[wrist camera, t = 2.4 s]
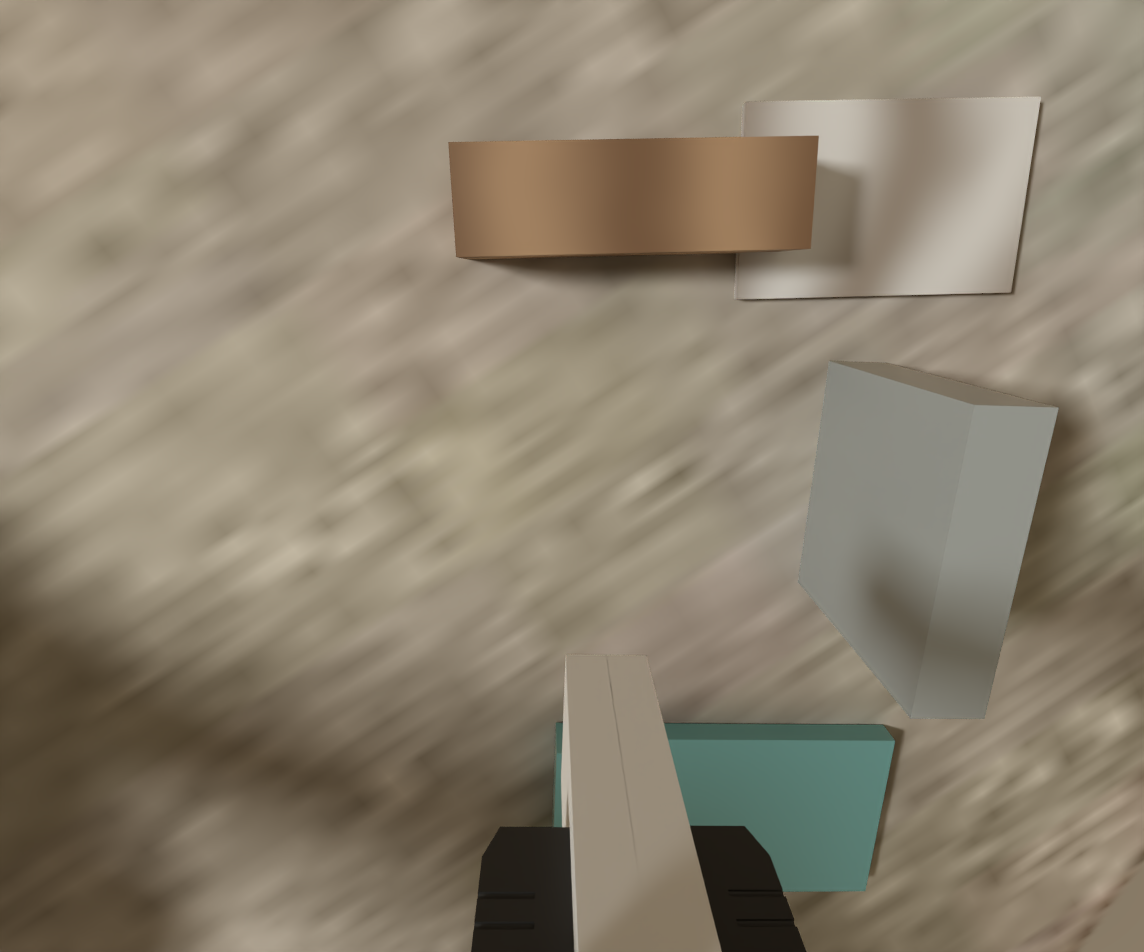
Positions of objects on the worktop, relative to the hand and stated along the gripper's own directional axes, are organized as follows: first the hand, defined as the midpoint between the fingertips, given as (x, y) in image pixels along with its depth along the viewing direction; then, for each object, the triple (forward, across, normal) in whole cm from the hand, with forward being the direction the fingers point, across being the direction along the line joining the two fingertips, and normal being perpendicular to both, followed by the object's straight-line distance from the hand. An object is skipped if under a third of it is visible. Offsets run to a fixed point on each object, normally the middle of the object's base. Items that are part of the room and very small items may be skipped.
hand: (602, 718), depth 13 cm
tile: (+17, -12, 0) cm, 21 cm away
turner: (+17, -6, -11) cm, 21 cm away
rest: (+17, -8, +17) cm, 25 cm away
